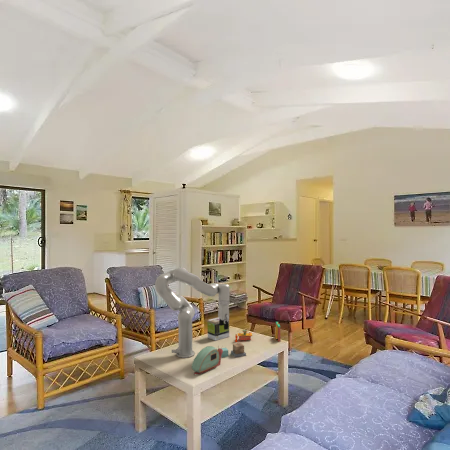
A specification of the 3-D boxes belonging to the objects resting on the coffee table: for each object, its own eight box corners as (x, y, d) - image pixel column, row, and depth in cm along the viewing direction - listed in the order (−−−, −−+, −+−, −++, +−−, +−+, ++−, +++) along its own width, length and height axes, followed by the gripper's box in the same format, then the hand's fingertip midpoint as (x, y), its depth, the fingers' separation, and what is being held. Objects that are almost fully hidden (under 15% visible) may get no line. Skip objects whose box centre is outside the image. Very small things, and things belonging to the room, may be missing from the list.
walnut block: (236, 354, 230) (236, 346, 230) (232, 351, 235) (232, 343, 235) (244, 352, 232) (244, 345, 232) (240, 349, 238) (240, 342, 238)
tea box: (221, 333, 281) (221, 316, 281) (229, 337, 273) (229, 318, 273) (207, 337, 271) (207, 319, 271) (214, 341, 263) (214, 322, 263)
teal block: (221, 358, 229) (221, 351, 229) (219, 355, 234) (219, 348, 234) (228, 357, 231) (228, 350, 231) (225, 354, 235) (225, 347, 235)
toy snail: (198, 378, 199) (198, 354, 199) (189, 374, 205) (189, 351, 205) (226, 365, 218) (226, 343, 218) (217, 361, 223) (217, 340, 223)
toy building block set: (280, 343, 259) (280, 324, 259) (234, 343, 258) (234, 324, 258) (277, 337, 271) (277, 320, 271) (234, 338, 271) (234, 320, 271)
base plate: (235, 358, 229) (235, 354, 229) (230, 354, 236) (230, 350, 236) (246, 357, 231) (246, 353, 231) (241, 352, 239) (241, 349, 239)
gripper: (214, 300, 239) (214, 324, 239) (222, 305, 223) (222, 331, 223) (224, 299, 242) (224, 323, 242) (233, 304, 225) (233, 330, 225)
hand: (223, 327), depth 232 cm, fingers open, 9 cm apart
